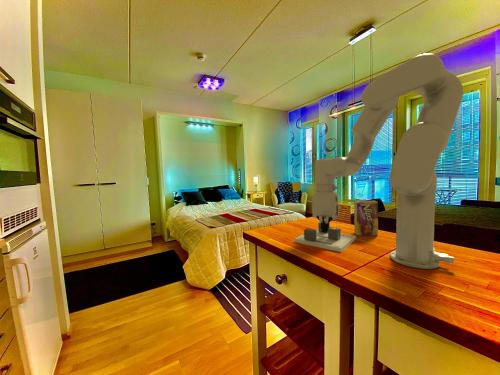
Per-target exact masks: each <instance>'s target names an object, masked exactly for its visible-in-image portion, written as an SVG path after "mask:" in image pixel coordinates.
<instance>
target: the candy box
mask: <svg viewBox="0 0 500 375" xmlns="http://www.w3.org/2000/svg"><path fill="white" fill-rule="evenodd" d="M378 203H379V202H378V201H376V200H354V201H353V211H354V212H353V215H354V220H353V222H354V225H353V226H354V234H355V236H356V235H357V236H379V206H378V205H379V204H378Z"/></svg>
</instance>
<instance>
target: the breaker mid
mask: <svg viewBox="0 0 500 375" xmlns="http://www.w3.org/2000/svg"><path fill="white" fill-rule="evenodd" d="M341 234H342V232H341V228H340V227H339V228H338V227H335V226H333V227H332V226H330V228H328V238H330V239H335V240H339V239H340V238H341Z"/></svg>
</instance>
